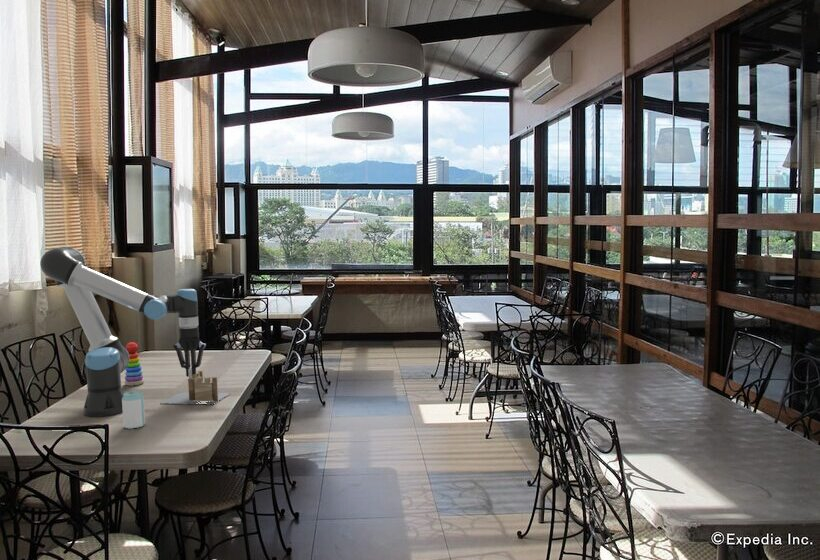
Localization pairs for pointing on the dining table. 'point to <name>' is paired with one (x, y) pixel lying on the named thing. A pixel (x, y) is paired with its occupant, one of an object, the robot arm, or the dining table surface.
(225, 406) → the dining table surface
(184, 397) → the card
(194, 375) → the hinged fence panel
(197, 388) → the fixed fence section
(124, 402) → the can
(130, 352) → the stacking toy
